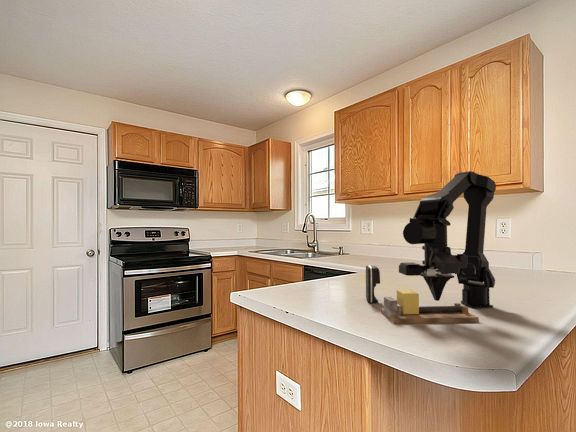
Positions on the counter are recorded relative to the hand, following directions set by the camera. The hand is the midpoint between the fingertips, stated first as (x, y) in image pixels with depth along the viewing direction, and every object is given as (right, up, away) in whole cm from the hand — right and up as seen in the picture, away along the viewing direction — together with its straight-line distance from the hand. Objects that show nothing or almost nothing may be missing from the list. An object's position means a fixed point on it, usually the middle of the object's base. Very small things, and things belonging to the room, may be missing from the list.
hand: (436, 300), depth 86 cm
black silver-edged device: (-13, -5, +17) cm, 22 cm away
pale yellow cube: (-8, -3, -1) cm, 9 cm away
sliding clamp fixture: (-3, -4, 0) cm, 5 cm away
